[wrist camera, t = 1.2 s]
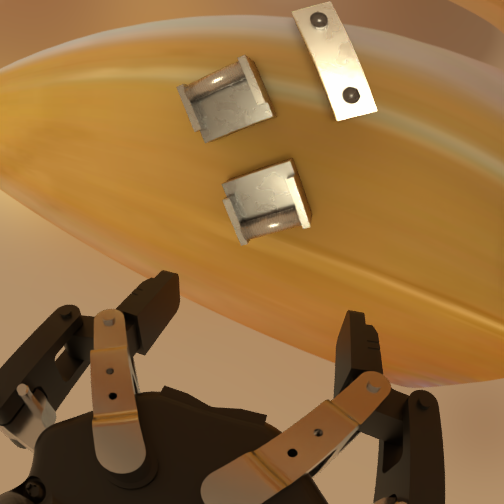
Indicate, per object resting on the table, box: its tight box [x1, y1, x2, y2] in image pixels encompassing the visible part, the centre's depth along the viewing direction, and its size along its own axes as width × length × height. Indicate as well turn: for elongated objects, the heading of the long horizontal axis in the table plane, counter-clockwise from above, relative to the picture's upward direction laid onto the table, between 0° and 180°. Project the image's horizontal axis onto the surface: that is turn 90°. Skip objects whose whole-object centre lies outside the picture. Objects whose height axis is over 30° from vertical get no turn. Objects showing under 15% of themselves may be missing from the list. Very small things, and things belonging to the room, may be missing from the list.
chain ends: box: [177, 55, 312, 245], centre depth 30 cm, size 8×19×4 cm, turn 21°
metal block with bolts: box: [292, 1, 377, 121], centre depth 24 cm, size 4×12×6 cm, turn 21°
